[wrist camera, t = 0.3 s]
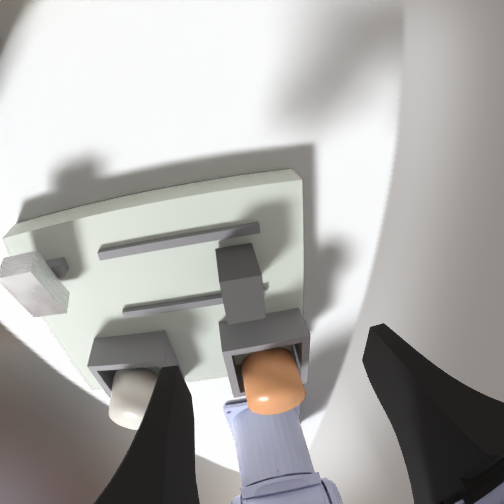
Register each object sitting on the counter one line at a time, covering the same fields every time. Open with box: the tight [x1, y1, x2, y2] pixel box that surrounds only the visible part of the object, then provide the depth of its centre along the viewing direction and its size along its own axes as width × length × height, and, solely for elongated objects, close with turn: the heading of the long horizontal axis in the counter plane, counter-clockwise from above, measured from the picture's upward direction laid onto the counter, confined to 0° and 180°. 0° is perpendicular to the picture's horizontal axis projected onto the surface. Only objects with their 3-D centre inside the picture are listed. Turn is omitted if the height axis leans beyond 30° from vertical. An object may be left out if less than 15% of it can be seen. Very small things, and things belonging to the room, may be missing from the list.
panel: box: [3, 169, 310, 398], centre depth 19 cm, size 15×18×5 cm
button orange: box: [241, 347, 306, 415], centre depth 19 cm, size 4×4×3 cm
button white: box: [109, 367, 158, 430], centre depth 18 cm, size 4×4×3 cm
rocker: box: [0, 250, 70, 317], centre depth 14 cm, size 4×3×1 cm, turn 6°
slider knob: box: [215, 243, 266, 325], centre depth 17 cm, size 3×2×3 cm
